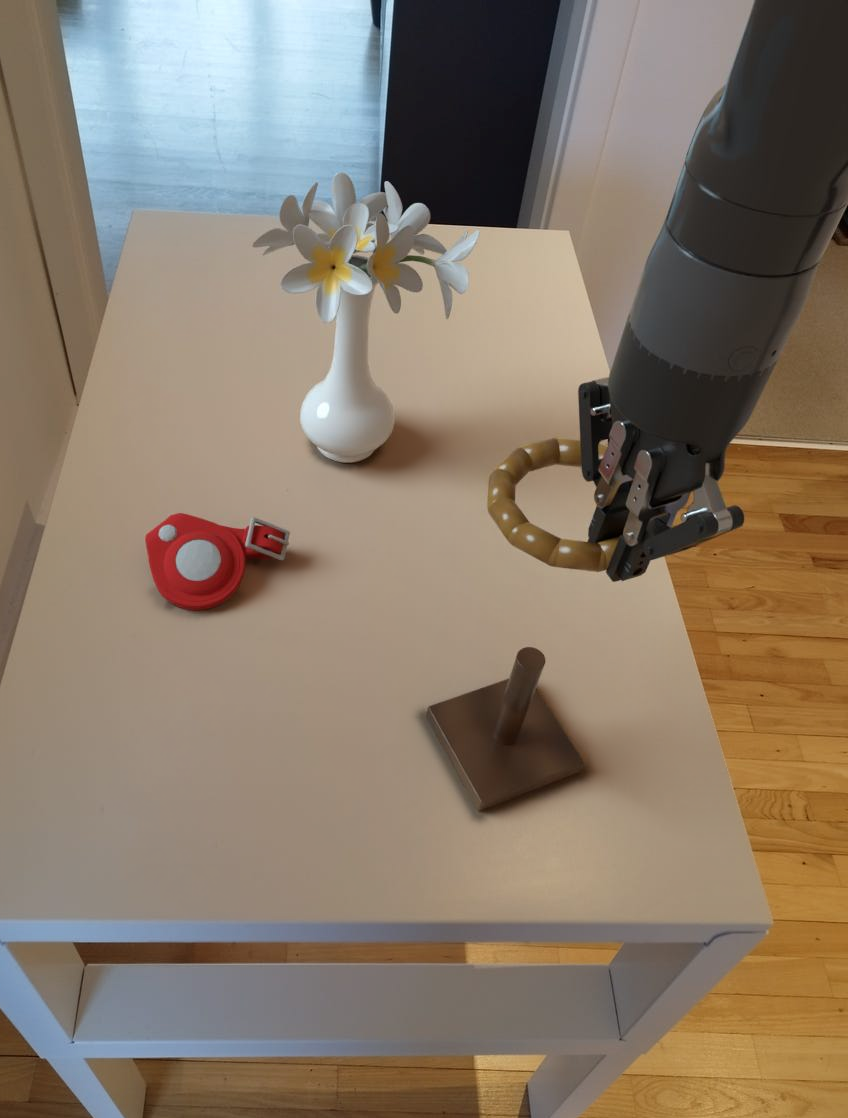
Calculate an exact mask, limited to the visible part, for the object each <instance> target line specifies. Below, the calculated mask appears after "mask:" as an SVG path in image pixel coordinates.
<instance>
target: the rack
mask: <svg viewBox="0 0 848 1118" xmlns="http://www.w3.org/2000/svg"><path fill="white" fill-rule="evenodd" d="M545 665H546V657H545V654H544V653H543V652H542V651H541V650H540V649H538V648H536V647H533V646H525V647H522V648H520V649H519V650H518V651H517V653H516V656H515V659H514V662H513V666H512V668H511V672H510V675H509V678H507V679H504V680H500V681H498V682H495V683H492V684H489V685H486V686H484V687H481V688H478V689H475V690H472V691H469V692H467V693H463V694H461V695H460V694H459V695H457V696H454V697H452V698H449V699H445V700H443V701H440V702H438V703H435V704H432V705H429V706H427V709H426V714H425V718H426V719H427V721H428V724H429V725H430V727H431V729H432V731H433V732H434V734H435V736H436V738H437V739H438V741H439V743H440V745H441V747H442V749H443V750H444V752H445V754H446V756H447V758H448V759H449V761H450V763H451V765H452V767H453V768H454V770H455V772H456V774H457V776H458V778H459V779H460V781H461V783H462V785H463V787H464V789H465V790H466V792H467V794H468V796H469V798H470V799H471V801H472V803H473V805H474V806H475V809H476V810H477V812H481V811H483V810H485V809H488V808H490V807H493V806H496V805H498V804H501V803H503V802H505V801H508V800H511V799H513V798H516V797H518V796H522V795H523V794H527V793H529V792H531V791H534V790H536V789H539V788H542V787H545V786H548V785H550V784H552V783H554V782H557V781H559V780H562V779H564V778H568V777H570V776H572V775H575V774H578V773H580V772H581V770H582V768H583V767H584V764H585V760H584V759H583V757H582V756H581V754H580V753H579V752H578V750H577V748H576V747H575V745H574V744H573V742H572V741H571V739H570V737H569V736H568V734H567V733H566V731H565V730H564V729H563V727H562V725H561V724H560V723H559V721H558V719H557V718H556V716H555V715H554V713H553V711H552V710H551V707H549V705H548V704H547V702H546V700H545V699H544V698H543V696H542V695H541V693H540V691H539V690H538V688H537V687H538V684H539V682H540V679H541V675H542V673H543V670H544V667H545Z"/></svg>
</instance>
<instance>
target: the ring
mask: <svg viewBox="0 0 848 1118" xmlns="http://www.w3.org/2000/svg"><path fill="white" fill-rule="evenodd" d="M607 447H608V446H606V445H604V444H602V443H601V442H600V443H599V445H598V454H599V459H601V458H603V456H604V454H605V451H606V449H607ZM555 465H557V466H558V465H559V466H565V467H573V468H582V467H581V445H580V439H572V438H571V439H570V438H560V437H553V438H552V437H551V438H549V439H544V440H541V441H537V442H533V443H530V444H525V445H522V446H519V447H516V448H514V449H513V450H512V451H511V452H510V453H509V454H508V455H507V456H506V457H505V458H504V459H503V460H502V461H501V462H500V463H499V464H498V465H497V466H496V467H495V468H494V469H492V471H491V472H490V473H489V477H488V487H487V488H488V489H487V491H488V492H487V503H486V508H487V513H488V515H489V516H490V518H491V519H492V521H493V522H494V523H495V525H496V526H497V528H498V529H499V531H500V532H501V533H502V535H503V536H504V537H505V539H506V540H507V542H508V544H510V545H511V546H512V547H514V548H516V549H518V550H520V551H522V552H524V553H526V554H527V555H528V556H531V557H533V558H535V559H536V560H538V561H540V562H542V563H544V564H545V565H548V566H549V567H553V568H559V569H560V568H561V569H567V570H577V571H585V572H586V571H587V572H594V573H599V572H601V573H602V572H604V571H605V572H606V570H607V568H608V566H609V563H610V560H611V558H612V555H613V553H614V550H615V548H616V545H617V543H618V540H619V538H620V536H618V537H615V538H612V539H608V540H605V541H602V542H598V543H593V542H587V541H583V540H576V539H567V538H561V537H558V536H557V535H555V534H553V533H550V532H549V531H547V530H545V529H543V528H541V527H539V526H538V525H535V524H533V523H532V522H530V520H529V519H528V517H527V515H525V514H524V512H523V511H522V510H521V508H520V507H519V506H518V504H517V502H516V491H517V489H516V487H517V485H518V484H519V483H520V482H521V481H522V480H523V479H524V478H525V477H526V476H527V475H528V474H529V473H530V472H533V471H534V472H535V471H538V470H541V469H544V468H549V467H553V466H555ZM652 518H653V517H652ZM652 518H651V519H652ZM651 519H650V520H651Z"/></svg>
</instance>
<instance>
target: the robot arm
mask: <svg viewBox="0 0 848 1118" xmlns="http://www.w3.org/2000/svg"><path fill="white" fill-rule="evenodd" d="M726 79H727V80H726V83H725V84H724V85H723V86H722V87H721V88H719V89H718V90H717V91H716V92H715V93H714V94H713V96H712V97H711V99H710V101H709V102H708V104H707V105H706V107H705V108H704V110H703V112H702V115H701V116H700V119H699V121H698V123H697V126H696V128H695V131H694V134H693V136H692V139H691V142H690V143H689V146H688V150H687V152H686V156H685V159H684V162H683V165H682V168H681V171H680V174H679V177H678V180H677V183H676V186H675V189H674V193H673V196H672V199H671V202H670V204H669V208H668V211H667V215H666V216H665V219H664V221H663V224H662V226H661V229H660V231H659V233H658V235H657V237H656V239H655V241H654V243H653V245H652V247H651V249H650V251H649V254H648V255H647V258H646V261H645V264H644V266H643V269H642V272H641V276H640V278H639V281H638V285H637V288H636V292H635V294H634V296H633V301H632V303H631V307H630V309H629V312H628V315H627V319H626V321H625V325H624V327H623V331H622V334H621V337H620V340H619V343H618V346H617V350H616V353H615V356H614V359H613V361H612V365H611V367H610V370H609V374H608V377H602V378H598V379H593V380H591V381H587V382H583V383H580V385H578V389H577V395H578V396H577V398H578V399H577V400H578V417H579V418H578V419H579V440H580V445H581V467H580V468H581V475H582V478H583V480H585V482H587V483H590V482H593V484H594V486H595V490H594V493H593V499H594V500H593V501H594V503H595V505H596V507H595V509H594V512H593V514H592V518H591V521H590V523H589V526H588V529H587V531H588V532H587V537H588V538H587V541H586V542H593V543H598V542H602V541H605V540H608V539H612V538H615V537H618V536H620V538H619V540H618V543H617V545H616V548H615V550H614V553H613V555H612V558H611V560H610V563H609V566H608V568H607V570H605V573H606V575H607V577H608V578H609V579H610V580H611V582H613V583H617V582H620V581H621V582H624V581H625V582H626V581H627V580H631V579H635V578H637V577H641V576H642V575H644V574H645V573H646V572H647V570H648V568H649V565H650V563H651V561H653V560H657V559H661V558H664V557H667V556H670V555H674V554H677V553H680V552H684V551H688V550H689V549H692V548H694V547H696V546H699V545H701V544H703V543H706V542H708V541H712V540H713V539H716V538H717V537H721V536H722V535H725V534H727V533H730V532H732V531H734V530H737V529H739V528H741V527H743V525H744V524H745V514H744V512H743V509H742V508H741V507H740V506H739V505H731V506H727V505H726V502H725V500H724V497H723V494H722V491H721V487H720V486H719V483H718V482H719V481H720V479H721V478H722V477H723V475H724V472H725V467H726V454H727V449H728V446H729V445H730V444H731V442H733V440H734V439H735V437H737V436H738V434H739V433H740V432H741V431H742V429H743V428H745V426H746V425H747V423H748V422H749V420H750V418H751V417H752V414H753V413H754V410H755V408H756V406H757V405H758V402H759V400H760V398H761V395H762V394H763V392H764V390H765V389H766V385H767V384H768V381H769V379H770V378H771V375H772V373H773V372H774V370H775V368H776V365H777V364H778V362H779V359H780V358H781V355H782V353H783V352H784V349H785V347H786V345H787V344H788V341H789V338H790V336H791V335H792V333H793V331H794V329H795V326H796V324H797V323H798V321H799V319H800V317H801V314H802V312H803V310H804V308H805V305H806V304H807V300H808V297H809V295H810V292H811V290H812V289H811V288H812V285H813V282H814V279H815V276H816V274H817V270H818V268H819V265H820V263H821V261H822V258H823V256H824V254H825V253H826V250H827V249H828V246H829V244H830V242H831V239H832V237H833V235H835V234H834V233H835V231H836V230H837V227H838V225H839V224H840V221H841V219H842V217H843V215H844V213H845V211H846V210H847V206H848V0H753V2H752V6H751V9H750V12H749V15H748V18H747V21H746V24H745V27H744V30H743V33H742V35H741V38H740V42H739V44H738V47H737V50H736V53H735V56H734V59H733V62H732V65H731V67H730V70H729V73H728V76H727V78H726ZM606 440H607V446H606V447H607V449H606V451H605V454H604V456H603V458H601V459H599V454H598V445H599V443H600V444H601V442H603V441H606ZM692 493H693V500H692V502H691V504H689V505H688V507H687V509H686V512H683V513H681V514H680V521H681V522H682V523H679V524H676V525H675V526H673V525H674V522H675V519H676V517H677V514H678V512H679V511H680V510H682V509H683V508H684V507H686V505H687V504H688V502H689V499H690V497H691V494H692ZM652 517H653V518H652ZM651 518H652V519H651ZM650 519H651V520H650Z"/></svg>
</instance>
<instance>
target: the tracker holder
mask: <svg viewBox="0 0 848 1118" xmlns="http://www.w3.org/2000/svg"><path fill="white" fill-rule="evenodd" d="M256 524H258V525H256ZM290 534H291V532H290V530H287V529H285V528H282V527H280V526H277V525H275V524H273V523H269V521H268V522H267V521H265V520H262V519H260V518H257V517H255V516H252V517H251V519H250V522H249V525H247V526H246V527H245V528H238V527H237V528H236V527H230V526H227V525H222V524H218V523H216V522H214V521H212V520H211V521H210V520H207V519H205V518H201V517H198V516H196V515H195V516H194V515H191V514H188V513H183V512H178V513H173V514H170V515H169V516H168V517H167V518H166V519H164V520H163V521H162V522H160V523H159V524H158V525H156V526H155V527H154V528H152V529H151V530H149V532H147V533H146V534H145V536H144V537H145V538H144V541H145V547H146V552H147V558H148V566H149V569H150V573H151V575H152V580H153V582H154V585H155V587H156V589H157V590H158V591H157V592H159V594H160V596H161V597H162V598H163V599H165V600H166V601H167V602H169V603H170V604H172V605H173V606H176V607H178V608H182V609H184V610H189V611H191V610H192V611H199V610H200V611H201V610H207V609H212V608H215V607H217V606H219V605H221V604H223V603H224V602H225V601H227V600H228V599H230V598H231V597H232V596H233V595H234V593H236V592H237V590H238V588H239V586H240V585H241V583H242V580H243V578H244V574H245V571H246V559H254V560H255V559H260V560H262V559H263V560H267V559H268V560H273V559H276V560H279V561H284V560H285V558H286V552H287V549H288V546H289V545H290V542H289V538H290Z"/></svg>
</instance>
